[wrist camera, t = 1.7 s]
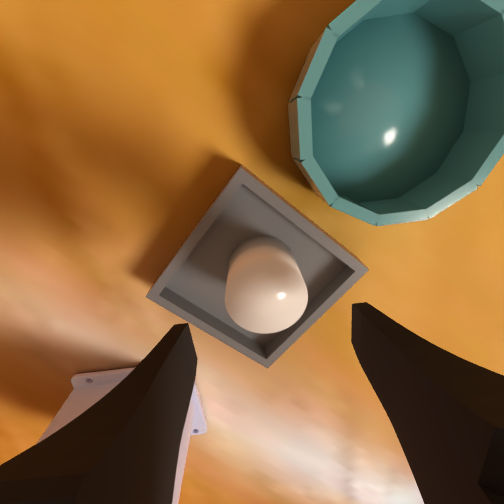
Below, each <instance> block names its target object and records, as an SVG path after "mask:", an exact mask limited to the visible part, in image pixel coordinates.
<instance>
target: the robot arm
mask: <svg viewBox="0 0 504 504" xmlns="http://www.w3.org/2000/svg"><path fill="white" fill-rule="evenodd" d="M351 342H352V344H353V347H354V350H355V352H356V355H357V357H358V360H359V362H360V364H361V366H362V368H363V370H364V372H365V374H366V376H367V378H368V380H369V381H370V383H371V385H372V387H373V389H374V391H375V392H376V394H377V396H378V398H379V400H380V402H381V403H382V405H383V407H384V409H385V411H386V413H387V415H388V417H389V419H390V421H391V423H392V425H393V427H394V430H395V432H396V434H397V437H398V439H399V441H400V444H401V446H402V448H403V451H404V453H405V456H406V458H407V461H408V463H409V466H410V468H411V470H412V473H413V475H414V478H415V480H416V483H417V486H418V488H419V491H420V493H421V496H422V499H423V501H424V504H504V376H503V375H501V374H498V373H495V372H493V371H490V370H488V369H485V368H483V367H481V366H478V365H476V364H473V363H471V362H469V361H467V360H464V359H462V358H460V357H458V356H456V355H454V354H452V353H450V352H448V351H446V350H444V349H441V348H440V347H438V346H436V345H434V344H432V343H430V342H428V341H427V340H425V339H423V338H421V337H420V336H418V335H416V334H415V333H413V332H411V331H410V330H408V329H406V328H405V327H403V326H402V325H400V324H398V323H397V322H395V321H394V320H392V319H391V318H389V317H388V316H386V315H385V314H383V313H382V312H380V311H379V310H377V309H376V308H374V307H373V306H371V305H370V304H368V303H367V302H365V303H356V304H352V338H351ZM196 367H197V356H196V352H195V348H194V344H193V340H192V336H191V333H190V329H189V325H188V323H185V324H176V325H174V326H173V327H172V328H171V329H170V330H169V331H168V332H167V334H166V335H165V336H164V337H163V338H162V339H161V341H160V342H159V343H158V344H157V345H156V346H155V347H154V348H153V350H152V351H151V352H150V353H149V354H148V355H147V356H146V357H145V358H144V359H143V360H142V361H141V362H140V363H139V364H138V365H137V366H136V367H134V368H126V369H117V370H108V371H100V372H91V373H82V374H76V375H74V376H73V377H72V379H71V383H72V385H73V387H74V389H73V391H72V392H71V394H70V395H69V396H68V398H67V399H66V401H65V402H64V404H63V405H62V407H61V408H60V410H59V411H58V413H57V414H56V416H55V417H54V419H53V420H52V422H51V423H50V425H49V426H48V428H47V429H46V430H45V432H44V433H43V435H42V436H41V438H40V439H39V441H38V442H37V444H36V445H34V446H32V447H31V448H29V449H27V450H26V451H24V452H22V453H21V454H19V455H17V456H15V457H14V458H12V459H10V460H9V461H7V462H5V463H3V464H2V465H1V466H0V504H178V502H179V496H180V491H181V485H182V480H183V474H184V468H185V463H186V457H187V452H188V446H189V441H190V435H198V434H204V433H206V432H207V423H206V419H205V415H204V412H203V408H202V404H201V401H200V397H199V393H198V390H197V386H196V382H195V376H196Z"/></svg>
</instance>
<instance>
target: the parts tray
mask: <svg viewBox="0 0 504 504" xmlns="http://www.w3.org/2000/svg"><path fill="white" fill-rule="evenodd" d="M255 236H271V237H274V238H277V239H279V240H281V241H282V242H284V243H285V244H286V245H287V246H288V247H289V248H290V250H291V251H292V253H293V255H294V258H295V260H296V262H297V265H298V267H299V270H300V272H301V275H302V277H303V280H304V282H305V284H306V287H307V291H308V301H307V306H306V309H305V311H304V313H303V314H302V316H301V317H300V318H299V319H298V321H296V322H295V323H294V324H293V325H291V326H290V327H288V328H286V329H284V330H282V331H279V332H275V333H267V334H263V333H255V332H251V331H248V330H246V329H244V328H242V327H240V326H239V325H238V324H236V323H235V322H234V321H233V320H232V318H231V317H230V315H229V314H228V312H227V309H226V306H225V291H226V283H227V275H228V266H229V260H230V257H231V254H232V253H233V251H234V249H235V248H236V247H237V246H238V245H239V244H240V243H241V242H243V241H245V240H246V239H249V238H251V237H255ZM368 270H369V269H368V268H367V267H366V266H365V265H364V264H363V263H362V262H361V261H360V260H359V258H357V257H356V256H355V255H354V254H352V253H351V252H350V251H349V250H347V249H346V248H345V247H344V246H342V245H341V244H340V243H339V242H337V241H336V240H335V239H334V238H332V237H331V236H330V235H329V234H328V233H326V232H325V231H324V230H323V229H321V228H320V227H319V226H318V225H316V224H315V223H314V222H313V221H311V220H310V219H309V218H308V217H306V216H305V215H304V214H303V213H301V212H300V211H299V210H298V209H296V208H295V207H294V206H293V205H291V204H290V203H289V202H288V201H286V200H285V199H284V198H283V197H281V196H280V195H279V194H278V193H276V192H275V191H274V190H273V189H271V188H270V187H269V186H268V185H266V184H265V183H264V182H263V181H261V180H260V179H259V178H258V177H256V176H255V175H254V174H253V173H251V172H250V171H249V170H248V169H246V168H245V167H244V166H243V165H240V166H239V167H238V169H237V170H236V172H235V173H234V174H233V176H232V177H231V178H230V180H229V181H228V183H227V184H226V185H225V187H224V188H223V189H222V191H221V192H220V193H219V195H218V196H217V198H216V199H215V200H214V202H213V203H212V204H211V206H210V207H209V209H208V210H207V211H206V213H205V214H204V215H203V217H202V218H201V219H200V221H199V222H198V224H197V225H196V226H195V228H194V229H193V230H192V232H191V233H190V235H189V236H188V237H187V239H186V240H185V241H184V243H183V244H182V245H181V247H180V248H179V250H178V251H177V252H176V254H175V255H174V256H173V258H172V259H171V261H170V262H169V263H168V265H167V266H166V267H165V269H164V270H163V271H162V273H161V274H160V276H159V277H158V278H157V280H156V281H155V282H154V284H153V286H152V287H151V289H150V290H149V292H148V294H147V295H146V297H147V298H148V299H150V300H152V301H154V302H155V303H157V304H159V305H160V306H162V307H164V308H165V309H167V310H169V311H171V312H172V313H174V314H176V315H177V316H179V317H181V318H183V319H184V320H186V321H188V322H189V323H191V324H193V325H194V326H196V327H198V328H200V329H201V330H203V331H205V332H206V333H208V334H210V335H211V336H213V337H215V338H217V339H218V340H220V341H222V342H223V343H225V344H227V345H229V346H230V347H232V348H234V349H235V350H237V351H239V352H240V353H242V354H244V355H246V356H247V357H249V358H251V359H252V360H254V361H256V362H257V363H259V364H261V365H263V366H264V367H266V368H269V367H270V366H271V365H272V364H273V363H274V362H275V361H276V360H277V359H278V358H279V357H280V356H281V355H282V354H283V353H284V352H285V351H286V350H287V349H288V348H289V347H290V346H291V345H292V344H293V343H294V342H295V341H296V340H297V339H298V338H299V337H300V336H301V335H302V334H304V333H305V332H306V331H307V330H308V329H309V328H310V327H311V326H312V325H313V324H314V323H315V322H316V321H317V320H318V319H319V318H320V317H321V316H322V315H323V314H324V313H325V312H326V311H327V310H328V309H329V308H330V307H331V306H332V305H333V304H334V303H335V302H336V301H337V300H338V299H339V298H341V297H342V296H343V295H344V294H345V293H346V292H347V291H348V290H349V289H350V288H351V287H352V286H353V285H354V284H355V283H356V282H357V281H358V280H359V279H360V278H361V277H362V276H363V275H364V274H365V273H366V272H367V271H368Z"/></svg>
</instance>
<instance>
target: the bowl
mask: <svg viewBox="0 0 504 504" xmlns="http://www.w3.org/2000/svg"><path fill="white" fill-rule="evenodd" d="M289 103H290V104H288V115H289V130H290V145H291V156H292V157H293V158H292V159H293V161H294V162H295V164H296V165H297V167H298V168H299V170H300V171H301V173H302V174H303V176H304V177H305V179H306V180H307V182H308V183H309V185H310V186H311V188H312V189H313V191H314V192H315V194H316V195H317V196H318V197H320V198H321V199H322V200H323V201H324V202H326V203H327V204H328V205H329V206H331V207H332V208H335V209H337V210H339V211H341V212H344V213H346V214H348V215H351V216H353V217H355V218H358V219H360V220H362V221H365V222H367V223H369V224H371V225H374V226H375V225H376V226H382V225H390V224H398V223H406V222H414V221H422V220H427V218H428V219H430V218H432V217H434V216H435V215H437V214H438V213H440V212H441V211H443V210H445V209H446V208H448V207H449V206H451V205H453V204H454V203H456V202H457V201H459V200H460V199H462V198H464V197H465V196H467V195H468V194H470V193H472V192H473V191H475V190H476V189H478V187H477V186H481V185H482V183H483V182H484V180H485V179H486V178H487V176H488V175H489V173H490V172H491V171H492V169H493V168H494V167H495V165H496V164H497V162H498V161H499V160H500V158H501V157H502V155H503V154H504V0H356V1H355V2H354V3H353V4H351V5H350V6H349V7H348V8H347V9H346V10H344V11H343V12H342V13H341V14H340V15H339V16H337V17H336V18H335V19H334V20H333V21H332V22H331V23H329V24H328V26H327V27H326V28H325V30H324V31H323V32H322V34H321V35H320V36H319V38H318V39H317V40H316V42H315V43H314V44H313V46H312V47H311V49H310V51H309V54H308V56H307V58H306V61H305V63H304V66H303V68H302V70H301V73H300V75H299V78H298V80H297V82H296V85H295V87H294V90H293V92H292V94H291V97H290V99H289Z"/></svg>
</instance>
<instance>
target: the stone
mask: <svg viewBox="0 0 504 504" xmlns="http://www.w3.org/2000/svg"><path fill="white" fill-rule="evenodd" d="M307 301H308V291H307V287H306V284H305V282H304V280H303V277H302V275H301V272H300V270H299V267H298V265H297V262H296V260H295V258H294V255H293V253H292V251H291V250H290V248H289V247H288V246H287V245H286V244H285V243H284V242H282V241H281V240H279V239H277V238H274V237H271V236H255V237H251V238H249V239H246V240H245V241H243V242H241V243H240V244H239V245H238V246H237V247H236V248H235V249H234V251H233V253H232V254H231V257H230V260H229V266H228V275H227V283H226V291H225V306H226V309H227V312H228V314H229V315H230V317H231V318H232V320H233V321H234V322H235V323H236V324H238V325H239V326H240V327H242V328H244V329H246V330H248V331H251V332H255V333H263V334H267V333H275V332H279V331H282V330H284V329H286V328H288V327H290V326H291V325H293V324H294V323H295V322H296V321H298V319H299V318H300V317H301V316H302V314H303V313H304V311H305V309H306V306H307Z"/></svg>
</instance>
